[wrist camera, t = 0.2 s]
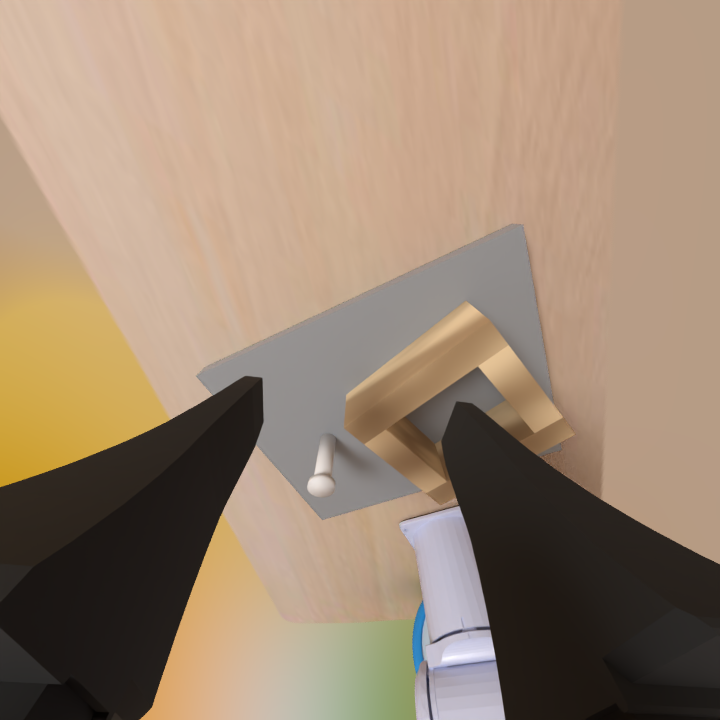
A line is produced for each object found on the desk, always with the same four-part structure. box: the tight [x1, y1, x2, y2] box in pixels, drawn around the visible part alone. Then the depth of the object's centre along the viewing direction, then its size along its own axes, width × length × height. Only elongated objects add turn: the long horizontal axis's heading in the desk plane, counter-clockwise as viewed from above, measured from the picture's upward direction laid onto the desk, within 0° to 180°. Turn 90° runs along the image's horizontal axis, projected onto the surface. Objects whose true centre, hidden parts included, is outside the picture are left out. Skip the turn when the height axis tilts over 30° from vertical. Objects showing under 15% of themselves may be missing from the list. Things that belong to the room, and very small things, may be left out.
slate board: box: [196, 224, 562, 520], centre depth 19 cm, size 18×22×6 cm
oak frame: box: [344, 301, 576, 505], centre depth 18 cm, size 10×10×4 cm
